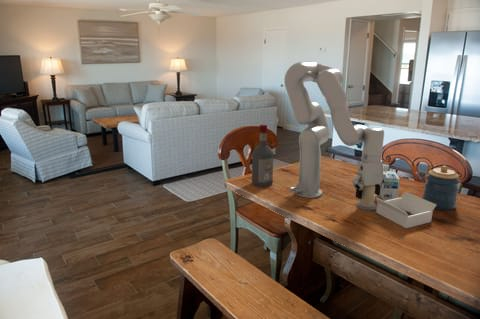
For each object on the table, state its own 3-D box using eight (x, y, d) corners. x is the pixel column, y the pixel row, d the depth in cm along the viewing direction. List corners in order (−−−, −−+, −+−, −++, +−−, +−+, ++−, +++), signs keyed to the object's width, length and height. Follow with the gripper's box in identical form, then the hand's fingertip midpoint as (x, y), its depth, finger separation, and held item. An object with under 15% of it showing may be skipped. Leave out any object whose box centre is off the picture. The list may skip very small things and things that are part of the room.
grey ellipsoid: (365, 211, 151) (366, 210, 151) (352, 204, 158) (352, 203, 158) (380, 208, 154) (380, 206, 154) (367, 201, 161) (367, 200, 161)
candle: (375, 204, 156) (378, 182, 153) (369, 208, 152) (371, 186, 149) (363, 201, 159) (365, 179, 157) (357, 204, 156) (359, 182, 153)
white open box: (402, 229, 136) (405, 211, 134) (373, 213, 149) (375, 197, 147) (433, 221, 142) (436, 204, 140) (402, 206, 156) (405, 191, 154)
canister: (416, 198, 164) (422, 161, 159) (445, 198, 164) (452, 161, 159) (430, 210, 152) (436, 170, 147) (461, 211, 151) (469, 170, 146)
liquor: (275, 184, 182) (276, 125, 173) (260, 188, 177) (261, 127, 168) (264, 179, 189) (264, 122, 180) (249, 183, 184) (250, 124, 175)
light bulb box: (397, 201, 161) (400, 178, 158) (381, 200, 162) (384, 177, 159) (393, 192, 171) (395, 171, 168) (378, 191, 172) (380, 170, 169)
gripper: (361, 162, 143) (357, 202, 148) (394, 157, 150) (389, 196, 154) (348, 157, 149) (345, 196, 154) (380, 153, 156) (376, 190, 161)
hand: (367, 196), depth 154 cm, fingers open, 9 cm apart
